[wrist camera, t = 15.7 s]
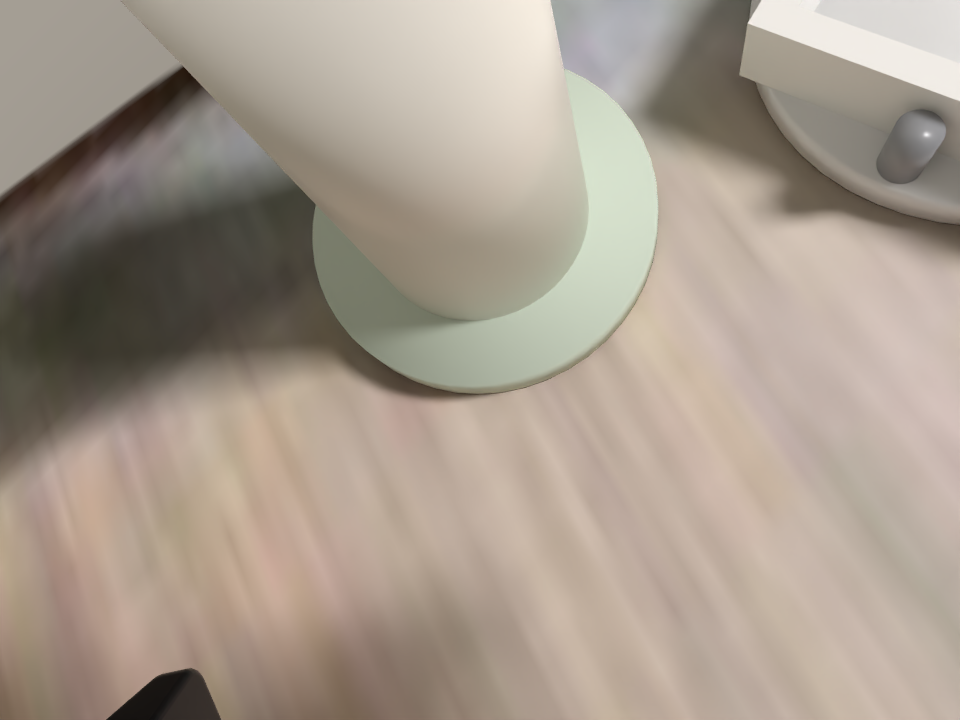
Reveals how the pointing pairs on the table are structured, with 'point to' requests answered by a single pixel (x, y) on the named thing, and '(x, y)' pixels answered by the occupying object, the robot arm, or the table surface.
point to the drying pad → (545, 323)
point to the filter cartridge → (407, 131)
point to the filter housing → (866, 94)
